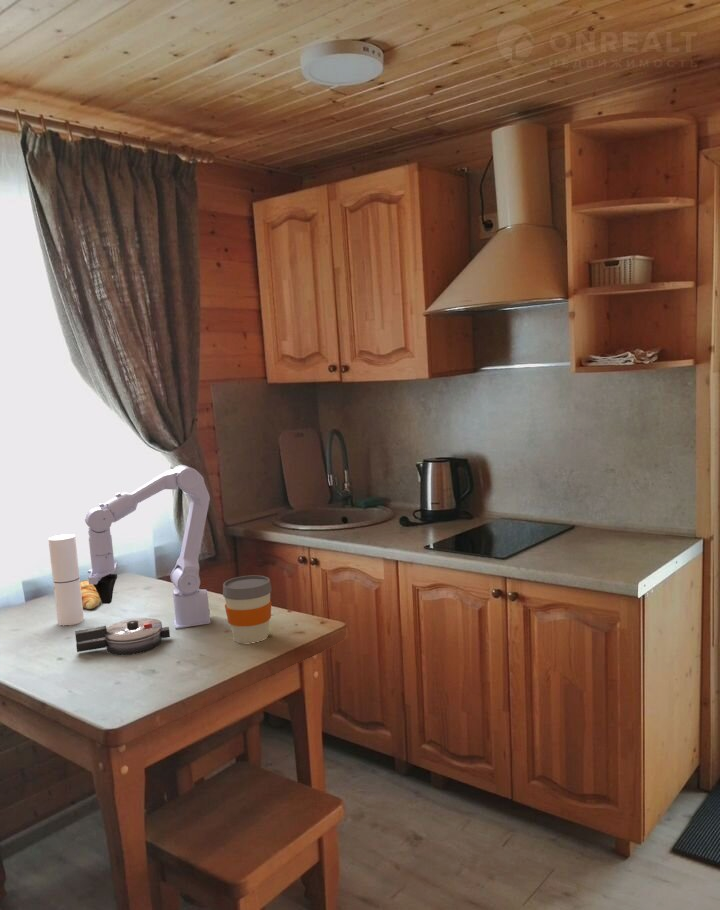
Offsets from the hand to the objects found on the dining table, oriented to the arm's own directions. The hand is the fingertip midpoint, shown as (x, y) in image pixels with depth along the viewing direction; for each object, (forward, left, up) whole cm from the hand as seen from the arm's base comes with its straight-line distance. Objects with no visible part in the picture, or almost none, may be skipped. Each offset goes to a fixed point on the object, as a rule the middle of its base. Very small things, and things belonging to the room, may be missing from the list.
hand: (106, 603), depth 202 cm
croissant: (+8, -39, -10) cm, 41 cm away
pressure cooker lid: (-3, +8, -6) cm, 11 cm away
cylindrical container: (+11, -21, -10) cm, 26 cm away
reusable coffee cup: (-35, +17, -10) cm, 40 cm away
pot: (-3, +8, -10) cm, 13 cm away
